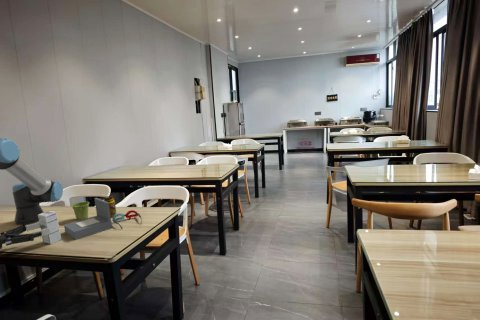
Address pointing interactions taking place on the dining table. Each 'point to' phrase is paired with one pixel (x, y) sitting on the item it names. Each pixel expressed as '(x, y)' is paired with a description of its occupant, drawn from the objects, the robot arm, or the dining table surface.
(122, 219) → the novelty glasses
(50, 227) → the syrup box
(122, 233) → the dining table surface
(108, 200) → the condiment
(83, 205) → the plant pot
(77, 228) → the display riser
